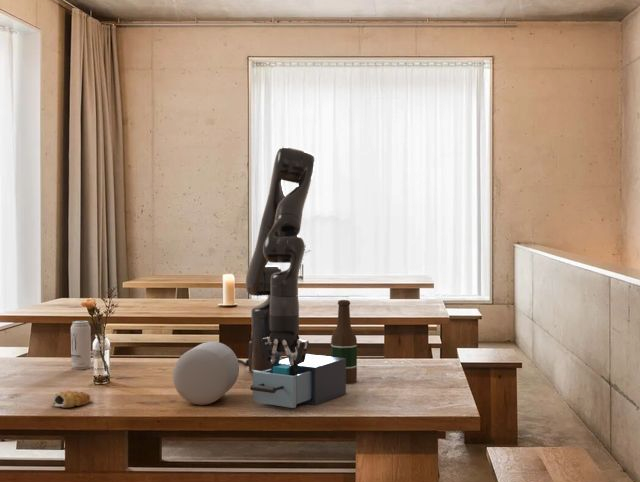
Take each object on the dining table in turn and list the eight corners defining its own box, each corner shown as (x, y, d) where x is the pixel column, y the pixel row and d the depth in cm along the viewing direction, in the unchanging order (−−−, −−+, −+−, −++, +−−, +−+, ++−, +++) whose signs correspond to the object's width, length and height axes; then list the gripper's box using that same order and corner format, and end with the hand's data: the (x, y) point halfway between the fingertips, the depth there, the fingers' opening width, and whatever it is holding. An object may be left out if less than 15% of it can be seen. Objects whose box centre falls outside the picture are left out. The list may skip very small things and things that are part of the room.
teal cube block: (272, 383, 213) (272, 366, 213) (282, 380, 217) (282, 363, 216) (287, 385, 211) (287, 368, 210) (296, 382, 214) (296, 365, 214)
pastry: (80, 399, 220) (79, 385, 220) (96, 403, 216) (96, 388, 216) (50, 406, 212) (49, 391, 212) (66, 410, 208) (66, 395, 208)
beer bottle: (354, 384, 240) (354, 302, 238) (328, 383, 241) (328, 301, 239) (358, 379, 247) (359, 299, 246) (333, 378, 249) (333, 298, 247)
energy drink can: (67, 368, 264) (66, 321, 263) (84, 365, 269) (83, 319, 268) (78, 370, 260) (77, 323, 259) (94, 368, 265) (94, 321, 264)
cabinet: (315, 404, 214) (315, 367, 213) (271, 398, 221) (271, 362, 221) (345, 393, 228) (346, 358, 227) (303, 388, 235) (303, 353, 234)
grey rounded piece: (148, 385, 215) (190, 356, 238) (185, 428, 214) (223, 394, 238) (194, 341, 208) (233, 316, 232) (233, 386, 208) (267, 355, 231)
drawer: (282, 412, 202) (282, 380, 202) (241, 405, 209) (241, 375, 208) (324, 397, 219) (324, 367, 218) (284, 391, 225) (284, 363, 225)
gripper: (315, 313, 212) (315, 379, 213) (270, 309, 219) (270, 373, 221) (299, 316, 206) (299, 384, 207) (253, 312, 213) (253, 378, 214)
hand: (284, 378), depth 214 cm, fingers closed on teal cube block, 4 cm apart
